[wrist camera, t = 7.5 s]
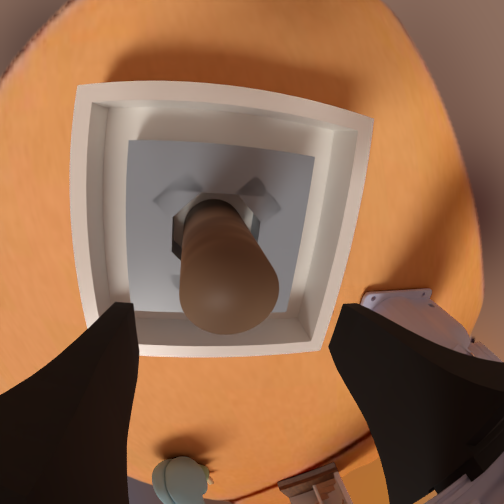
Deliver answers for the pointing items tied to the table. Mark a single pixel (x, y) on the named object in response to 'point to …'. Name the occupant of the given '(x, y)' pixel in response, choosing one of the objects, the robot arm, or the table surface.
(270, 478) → the table surface
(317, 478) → the tall white shelf
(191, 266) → the peg
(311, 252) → the box
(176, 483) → the toy flower bud
